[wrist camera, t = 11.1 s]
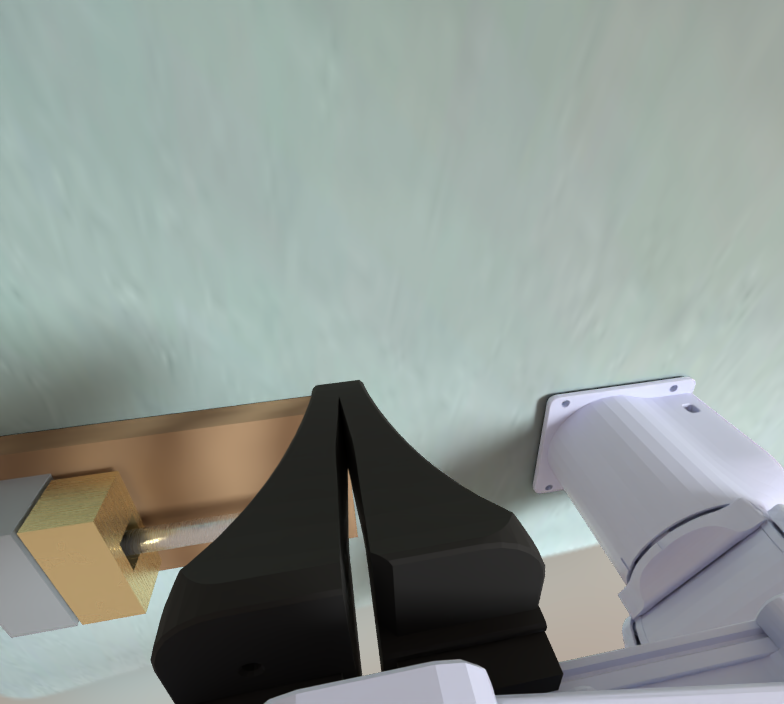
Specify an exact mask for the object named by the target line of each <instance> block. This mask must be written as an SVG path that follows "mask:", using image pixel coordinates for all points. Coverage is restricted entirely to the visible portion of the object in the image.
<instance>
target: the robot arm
mask: <svg viewBox="0 0 784 704" xmlns="http://www.w3.org/2000/svg"><path fill="white" fill-rule="evenodd" d="M695 384H696V382H695V380H694V379H692V378H691V377H680V378H673V379H666V380H658V381H651V382H644V383H637V384H630V385H622V386H615V387H608V388H601V389H594V390H586V391H579V392H572V393H565V394H558V395H554V396H552V397H550V398H549V399H548V401H547V405H546V411H545V417H544V423H543V429H542V434H541V440H540V446H539V452H538V458H537V464H536V469H535V475H534V481H533V489H534V491H535V492H536V493H547V492H553V491H559V490H565V492H566V493H567V495H568V496H569V498H570V499H571V501H572V502H573V504H574V505H575V507H576V509H577V510H578V512H579V513H580V515H581V516H582V518H583V519H584V521H585V522H586V524H587V525H588V527H589V529H590V530H591V532H592V533H593V535H594V536H595V538H596V539H597V541H598V542H599V544H600V545H601V547H602V549H603V550H604V552H605V553H606V555H607V556H608V558H609V559H610V561H611V562H612V564H613V565H614V567H615V568H616V570H617V572H618V573H619V575H620V576H621V578H622V579H623V581H624V582H625V584H626V585H627V586H626V587H625V588H624V589H623V590H622V591H621V592H620V593H619V594H618V596H619V598H620V599H621V601H622V603H623V604H624V606H625V608H626V609H627V611H628V612H629V614H630V616H629V617H627V618H626V619H625V621H624V623H623V627H622V634H623V641H624V644H625V648H623V649H618V650H614V651H609V652H604V653H600V654H596V655H591V656H586V657H581V658H577V659H572V660H567V661H563V662H558V660H557V658H556V656H555V653H554V651H553V649H552V647H551V644H550V642H549V640H548V638H547V635H546V633H545V631H546V629H547V625H546V621H545V619H544V616H543V614H542V612H541V610H540V608H539V606H538V604H539V600H540V595H541V591H542V586H543V582H544V577H545V564H544V562H543V560H542V558H541V555H540V553H539V551H538V549H537V547H536V546H535V544H534V542H533V540H532V539H531V537H530V536H529V534H528V533H527V532H526V530H525V529H524V527H523V526H522V524H521V523H520V522H519V520H518V519H517V517H516V516H515V515H514V514H513V513H512V512H510V511H508V510H506V509H504V508H502V507H500V506H498V505H496V504H494V503H492V502H490V501H488V500H486V499H484V498H482V497H480V496H478V495H476V494H475V493H473V492H471V491H470V490H468V489H466V488H465V487H463V486H461V485H460V484H458V483H457V482H456V481H454V480H453V479H451V478H450V477H448V476H447V475H445V474H444V473H443V472H441V471H440V470H438V469H437V468H436V467H435V466H433V465H432V464H431V463H430V462H428V461H427V460H426V459H425V458H424V457H423V456H421V455H420V454H419V453H418V452H417V451H416V450H415V449H414V448H413V447H412V446H411V445H409V444H408V443H407V442H406V441H405V439H404V438H403V437H402V436H401V435H400V434H399V433H398V432H397V431H396V430H395V429H394V427H393V426H392V425H391V424H390V423H389V422H388V420H387V419H386V418H385V417H384V415H383V414H382V413H381V411H380V410H379V409H378V407H377V406H376V405H375V403H374V402H373V400H372V399H371V397H370V395H369V394H368V392H367V390H366V388H365V386H364V384H363V383H362V382H361V381H360V380H355V381H347V382H339V383H332V384H324V385H316V386H315V387H314V388H313V390H312V395H311V398H310V401H309V404H308V407H307V409H306V412H305V414H304V417H303V419H302V421H301V423H300V426H299V428H298V430H297V432H296V434H295V436H294V438H293V440H292V441H291V443H290V445H289V447H288V449H287V451H286V452H285V454H284V456H283V457H282V459H281V461H280V462H279V464H278V465H277V467H276V468H275V470H274V471H273V473H272V474H271V476H270V477H269V479H268V480H267V481H266V483H265V484H264V485H263V487H262V488H261V489H260V491H259V492H258V493H257V494H256V496H255V497H254V498H253V500H252V501H251V502H250V503H249V504H248V505H247V507H246V508H245V509H244V510H243V511H242V512H241V513H240V514H239V515H238V517H237V518H236V519H235V520H234V521H233V522H232V523H231V524H230V525H229V526H228V527H227V528H226V529H225V530H224V531H223V532H222V533H221V534H220V535H219V536H218V537H217V538H216V539H215V540H214V541H213V542H212V543H211V544H210V545H209V546H208V547H206V548H205V549H204V550H203V551H202V552H201V553H200V554H198V555H197V556H196V557H195V558H194V559H193V560H192V561H190V562H189V563H188V564H187V565H186V566H184V567H183V568H182V569H181V570H180V571H179V573H178V575H177V578H176V580H175V582H174V585H173V587H172V589H171V592H170V594H169V597H168V599H167V602H166V604H165V607H164V610H163V613H162V616H161V619H160V623H159V627H158V631H157V635H156V639H155V642H154V646H153V651H152V656H151V663H152V666H153V669H154V671H155V673H156V675H157V676H158V678H159V679H160V681H161V683H162V684H163V686H164V687H165V689H166V690H167V692H168V694H169V695H170V697H171V698H172V700H173V702H174V703H175V704H784V469H783V467H782V466H781V465H780V464H779V463H778V461H777V460H776V459H775V458H774V457H773V456H772V455H770V454H769V453H768V452H767V451H766V450H764V449H763V448H762V447H761V446H759V445H758V444H757V443H755V442H754V441H753V440H752V439H750V438H749V437H748V436H746V435H745V434H744V433H743V432H741V431H740V430H739V429H738V428H736V427H735V426H734V425H732V424H731V423H730V422H729V421H727V420H726V419H725V418H723V417H722V416H721V415H720V414H718V413H717V412H716V411H714V410H713V409H712V408H711V407H709V406H708V405H707V404H706V403H704V402H703V401H702V400H700V399H699V398H698V397H697V396H695V395H694V394H693V390H694V387H695ZM564 401H565V402H564ZM562 402H564V403H562ZM348 471H349V475H350V480H351V484H352V489H353V493H354V497H355V502H356V506H357V511H358V515H359V519H360V524H361V528H362V533H363V537H364V543H365V548H366V555H367V563H368V571H369V578H370V586H371V594H372V602H373V609H374V616H375V624H376V633H377V640H378V648H379V656H380V664H381V672H379V673H374V674H369V675H365V676H362V670H361V661H360V651H359V642H358V632H357V622H356V613H355V603H354V594H353V584H352V574H351V564H350V554H349V519H348Z"/></svg>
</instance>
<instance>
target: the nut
mask: <svg viewBox="0 0 784 704" xmlns="http://www.w3.org/2000/svg"><path fill="white" fill-rule="evenodd" d="M144 527H145V525H144V523H143V521H142V519H141V517H140V515H139V512H138V510H137V508H136V506H135V504H134V502H133V500H132V498H131V496H130V494H129V492H128V490H127V488H126V486H125V484H124V482H123V480H122V478H121V476H120V474H119V472H118V471H113V472H106V473H99V474H92V475H85V476H78V477H71V478H64V479H57V480H51V482H50V483H49V485H48V486H47V488H46V489H45V491H44V492H43V494H42V495H41V497H40V498H39V500H38V502H37V503H36V505H35V506H34V508H33V509H32V511H31V512H30V514H29V515H28V517H27V518H26V520H25V522H24V523H23V525H22V526H21V528H20V529H19V531H18V532H17V535H18V536H19V538H20V539H21V540H22V542H23V543H24V544H25V546H26V547H27V549H28V550H29V551H30V553H31V554H32V556H33V557H34V558H35V560H36V561H37V562H38V564H39V565H40V567H41V568H42V569H43V571H44V572H45V574H46V575H47V576H48V578H49V579H50V580H51V582H52V583H53V585H54V586H55V587H56V589H57V590H58V592H59V593H60V594H61V596H62V597H63V598H64V600H65V601H66V603H67V604H68V605H69V607H70V608H71V610H72V611H73V612H74V614H75V615H76V616H77V618H78V619H79V621H80V622H81V623H82V625H84V624H90V623H96V622H101V621H107V620H112V619H118V618H123V617H129V616H134V615H140V614H145V613H146V611H147V608H148V605H149V601H150V598H151V595H152V592H153V588H154V585H155V582H156V578H157V575H158V572H159V568H160V565H161V562H162V559H161V557H160V555H159V553H158V551H154V552H148V553H142V554H136V555H130V556H125V554H124V552H123V550H122V549H121V547H120V542H121V540H122V537H123V535H124V533H125V530H132V529H138V528H144Z"/></svg>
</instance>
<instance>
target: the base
mask: <svg viewBox="0 0 784 704" xmlns="http://www.w3.org/2000/svg"><path fill="white" fill-rule="evenodd" d="M310 398H311V396H308V397H300V398H292V399H285V400H277V401H269V402H261V403H254V404H246V405H238V406H231V407H223V408H215V409H208V410H200V411H192V412H185V413H177V414H169V415H162V416H154V417H146V418H139V419H131V420H123V421H115V422H108V423H100V424H92V425H85V426H77V427H69V428H62V429H54V430H46V431H39V432H31V433H23V434H16V435H8V436H0V626H1V627H2V628H3V629H4V630H5V631H6V632H7V633H8V635H9V636H10V637H11V638H13V637H18V636H24V635H29V634H35V633H40V632H46V631H51V630H57V629H62V628H68V627H73V626H77V625H78V622H79V619H78V618H77V616H76V615H75V614H74V612H73V611H72V610H71V608H70V607H69V605H68V604H67V603H66V601H65V600H64V598H63V597H62V596H61V594H60V593H59V592H58V590H57V589H56V587H55V586H54V585H53V583H52V582H51V580H50V579H49V578H48V576H47V575H46V574H45V572H44V571H43V569H42V568H41V567H40V565H39V564H38V562H37V561H36V560H35V558H34V557H33V556H32V554H31V553H30V551H29V550H28V549H27V547H26V546H25V544H24V543H23V542H22V540H21V539H20V538H19V536H18V535H17V532H18V531H19V529H20V528H21V526H22V525H23V523H24V522H25V520H26V518H27V517H28V515H29V514H30V512H31V511H32V509H33V508H34V506H35V505H36V503H37V502H38V500H39V498H40V497H41V495H42V494H43V492H44V491H45V489H46V488H47V486H48V485H49V483H50V482H51V480H57V479H64V478H71V477H78V476H85V475H92V474H99V473H106V472H113V471H118V472H119V474H120V476H121V478H122V480H123V482H124V484H125V486H126V488H127V490H128V492H129V494H130V496H131V498H132V500H133V502H134V504H135V506H136V508H137V510H138V512H139V515H140V517H141V519H142V521H143V523H144V525H145V527H144V528H138V529H132V530H125V533H124V535H123V537H122V540H121V542H120V547H121V549H122V550H123V552H124V554H125V556H130V555H136V554H142V553H148V552H154V551H158V553H159V555H160V557H161V559H162V562H161V565H160V568H159V571H161V570H166V569H172V568H178V567H184V566H186V565H187V564H188V563H189V562H190V561H192V560H193V559H194V558H195V557H196V556H197V555H198V554H200V553H201V552H202V551H203V550H204V549H205V548H206V547H208V546H209V545H210V544H211V543H212V542H213V541H214V540H215V539H216V538H217V537H218V536H219V535H220V534H221V533H222V532H223V531H224V530H225V529H226V528H227V527H228V526H229V525H230V524H231V523H232V522H233V521H234V520H235V519H236V518H237V517H238V515H239V514H240V513H241V512H242V511H243V510H244V509H245V508H246V507H247V505H248V504H249V503H250V502H251V501H252V500H253V498H254V497H255V496H256V494H257V493H258V492H259V491H260V489H261V488H262V487H263V485H264V484H265V483H266V481H267V480H268V479H269V477H270V476H271V474H272V473H273V471H274V470H275V468H276V467H277V465H278V464H279V462H280V461H281V459H282V457H283V456H284V454H285V452H286V451H287V449H288V447H289V445H290V443H291V441H292V440H293V438H294V436H295V434H296V432H297V430H298V428H299V426H300V423H301V421H302V419H303V417H304V414H305V412H306V409H307V407H308V404H309V401H310ZM348 519H349V538H354V537H358V535H357V527H356V518H355V510H354V502H353V494H352V486H351V480H350V475H349V471H348Z"/></svg>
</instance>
